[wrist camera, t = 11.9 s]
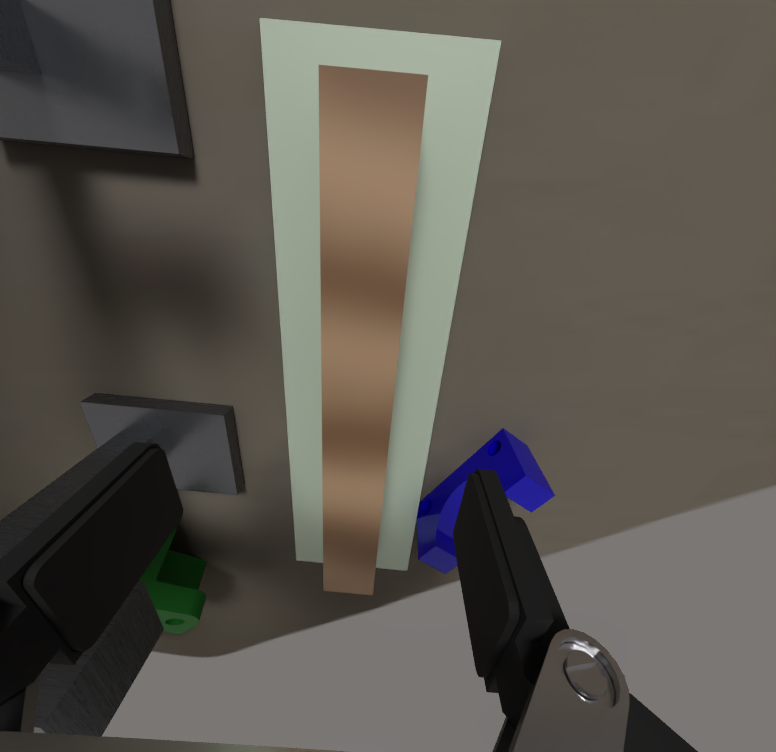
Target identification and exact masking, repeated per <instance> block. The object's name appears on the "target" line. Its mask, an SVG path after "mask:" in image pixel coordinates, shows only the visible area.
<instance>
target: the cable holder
mask: <svg viewBox="0 0 776 752" xmlns="http://www.w3.org/2000/svg"><path fill="white" fill-rule="evenodd" d="M476 469H484V470H495V471H496V472H497V474H498V477H499V479H500V482H501V484H502V487H503V490H504V492H505V495H506V496H507V497H508V498H510V499H511V500H513V501H514V502H516V503H517V504H519V505H521V506H522V507H524V508H525V509H527V510H528V511H530V512H533V511H534V510H536V509H537V508H538V507H540V506H541V505H542V504H544V503H545V502H547V501H548V500H549V499H551V498H552V497H554V496H555V495H554V493H553V491H552V489H551V487H550V486H549V484H548V482H547V480H546V478H545V477H544V475H543V473H542V471H541V469H540V468H539V466H538V464H537V462H536V460H535V459H534V457H533V455H532V453H531V451H530V450H529V448H528V446H527V445H526V444H524V443H523V442H522V441H520V440H519V439H517V438H516V437H515V436H513V435H512V434H510V433H509V432H508V431H506V430H505V429H504V428H503V429H502V430H501V431H499V432H498V433H497V434H496V435H495V436H494V437H493V438H492V439H490V440H489V441H488V442H487V443H486V444H485V445H484V446H482V447H481V448H480V449H479V450H478V451H477V452H476V453H475V454H473V455H472V456H471V457H470V458H469V459H468V460H467V461H466V462H464V463H463V464H462V465H461V466H460V467H459V468H458V469H457V470H455V471H454V472H453V473H452V474H451V475H450V476H449V477H448V478H446V479H445V480H444V481H443V482H442V483H441V484H440V485H438V486H437V487H436V488H435V489H434V490H433V491H432V492H431V493H429V494H428V495H427V496H426V497H425V498H424V499H423V500H422V501H420V502H419V507H418V513H417V538H418V560H420V561H422V562H424V563H426V564H428V565H429V566H431V567H433V568H435V569H437V570H439V571H441V572H442V573H444V574H446V573H448V572H449V571H450V570H452V569H453V568H455V567H456V566H457V565H458V564H457V559H456V553H455V547H454V541H453V530H454V526H455V522H456V519H457V515H458V511H459V508H460V504H461V500H462V497H463V493H464V489H465V486H466V482H467V478H468V475H469V474H470V473H474V472H475V470H476Z"/></svg>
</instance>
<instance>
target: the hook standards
mask: <svg viewBox="0 0 776 752" xmlns="http://www.w3.org/2000/svg"><path fill="white" fill-rule="evenodd" d="M0 140H2V141H12V142H23V143H34V144H44V145H55V146H66V147H76V148H87V149H98V150H108V151H119V152H129V153H140V154H151V155H161V156H172V157H183V158H193V159H194V154H193V147H192V141H191V134H190V128H189V121H188V115H187V108H186V102H185V95H184V89H183V82H182V76H181V69H180V63H179V56H178V50H177V44H176V37H175V31H174V24H173V18H172V11H171V5H170V0H0ZM80 405H81V407H82V410H83V412H84V415H85V417H86V420H87V422H88V425H89V427H90V430H91V432H92V435H93V437H94V440H95V442H96V445H97V447H98V449H96V450H95V451H94V452H92V453H91V454H90V455H88V456H87V457H85V458H84V459H83V460H81V461H80V462H79V463H77V464H76V465H75V466H73V467H72V468H71V469H69V470H68V471H67V472H65V473H64V474H63V475H61V476H60V477H59V478H57V479H56V480H55V481H53V482H52V483H51V484H49V485H48V486H46V487H45V488H44V489H42V490H41V491H40V492H38V493H37V494H36V495H34V496H33V497H32V498H30V499H29V500H28V501H26V502H25V503H24V504H22V505H21V506H20V507H18V508H17V509H16V510H14V511H13V512H12V513H10V514H9V515H8V516H6V517H5V518H3V519H2V520H1V521H0V559H1V558H2V557H4V556H5V555H6V554H7V553H8V552H9V551H10V550H12V549H13V548H14V547H15V546H16V545H17V544H18V543H19V542H21V541H22V540H23V539H24V538H25V537H26V536H27V535H29V534H30V533H31V532H32V531H33V530H34V529H35V528H36V527H38V526H39V525H40V524H41V523H42V522H43V521H44V520H46V519H47V518H48V517H49V516H50V515H51V514H52V513H53V512H55V511H56V510H57V509H58V508H59V507H60V506H61V505H63V504H64V503H65V502H66V501H67V500H68V499H69V498H70V497H72V496H73V495H74V494H75V493H76V492H77V491H78V490H80V489H81V488H82V487H83V486H84V485H85V484H86V483H87V482H89V481H90V480H91V479H92V478H93V477H94V476H95V475H97V474H98V473H99V472H100V471H101V470H102V469H103V468H104V467H106V466H107V465H108V464H109V463H110V462H111V461H112V460H114V459H115V458H116V457H117V456H118V455H119V454H120V453H121V452H123V451H124V450H125V449H126V448H127V447H128V446H129V445H131V444H132V443H135V442H142V443H155V444H158V445H159V446H160V448H161V449H163V450H164V451H165V453H166V457H167V460H168V463H169V466H170V469H171V472H172V476H173V479H174V482H175V485H176V488H177V489H180V490H190V491H201V492H212V493H222V494H233V495H238V493H239V491H240V490H241V488H242V486H243V485H244V477H243V471H242V464H241V458H240V451H239V445H238V438H237V432H236V425H235V419H234V413H233V406H226V405H216V404H205V403H194V402H184V401H173V400H162V399H152V398H141V397H130V396H120V395H109V394H98V393H95V394H93V395H91V396H89V397H87V398H86V399H84V400H82V401H80ZM163 630H164V628H163V626H162V623H161V621H160V619H159V616H158V614H157V611H156V609H155V607H154V604H153V602H152V599H151V597H150V595H149V592H148V590H147V587H146V585H145V583H144V582H137V584H136V585H135V587H134V588H133V590H132V591H131V592H130V594H129V595H128V597H127V598H126V600H125V601H124V603H123V604H122V605H121V607H120V608H119V610H118V611H117V613H116V614H115V615H114V617H113V618H112V620H111V621H110V623H109V624H108V626H107V627H106V628H105V630H104V631H103V633H102V634H101V636H100V637H99V639H98V640H97V641H96V643H95V644H94V645H93V646H92V647H91V648H90V649H88V650H86V651H84V652H83V654H82V655H81V656H80V658H79V659H78V661H77V662H76V664H75V665H64V664H51V663H50V662H49V663H48V664H47V666H46V667H45V668H44V669H43V671H42V672H41V673H40V675H39V685H38V695H37V704H36V714H35V724H34V733H47V734H65V735H83V736H102V735H103V733H104V731H105V729H106V728H107V726H108V724H109V723H110V721H111V719H112V718H113V716H114V714H115V712H116V711H117V709H118V707H119V706H120V704H121V702H122V701H123V699H124V697H125V695H126V693H127V692H128V690H129V689H130V687H131V685H132V683H133V682H134V680H135V678H136V677H137V675H138V673H139V671H140V670H141V668H142V666H143V665H144V663H145V661H146V659H147V658H148V656H149V654H150V653H151V651H152V649H153V647H154V646H155V644H156V642H157V641H158V639H159V637H160V636H161V634H162V632H163Z"/></svg>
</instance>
